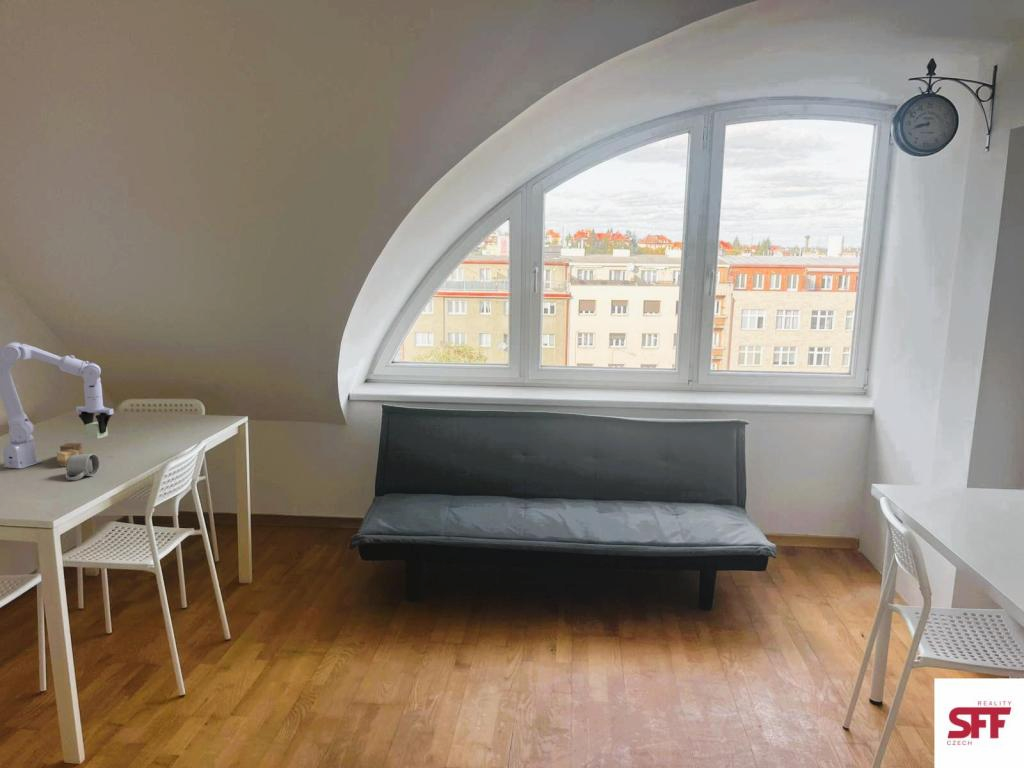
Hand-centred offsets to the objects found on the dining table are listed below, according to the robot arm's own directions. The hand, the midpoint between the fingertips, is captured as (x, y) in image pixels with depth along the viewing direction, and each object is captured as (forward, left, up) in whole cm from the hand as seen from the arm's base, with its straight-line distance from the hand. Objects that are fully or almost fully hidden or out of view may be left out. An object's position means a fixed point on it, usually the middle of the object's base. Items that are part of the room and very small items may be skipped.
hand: (96, 432), depth 278 cm
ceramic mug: (-21, -11, -10) cm, 26 cm away
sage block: (0, 0, -2) cm, 2 cm away
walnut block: (-2, +10, -10) cm, 14 cm away
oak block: (-10, +4, -10) cm, 15 cm away
